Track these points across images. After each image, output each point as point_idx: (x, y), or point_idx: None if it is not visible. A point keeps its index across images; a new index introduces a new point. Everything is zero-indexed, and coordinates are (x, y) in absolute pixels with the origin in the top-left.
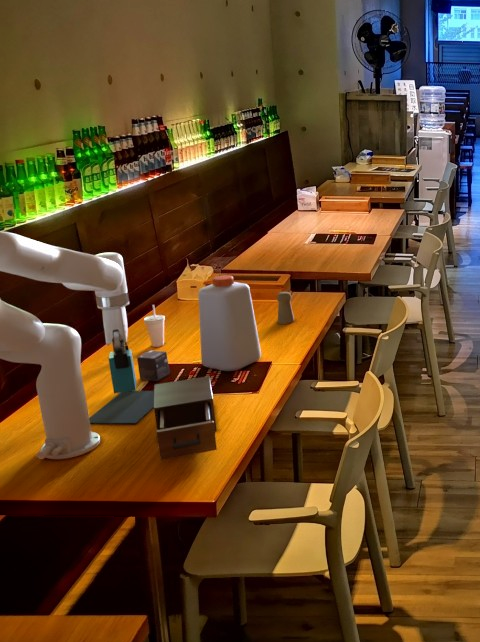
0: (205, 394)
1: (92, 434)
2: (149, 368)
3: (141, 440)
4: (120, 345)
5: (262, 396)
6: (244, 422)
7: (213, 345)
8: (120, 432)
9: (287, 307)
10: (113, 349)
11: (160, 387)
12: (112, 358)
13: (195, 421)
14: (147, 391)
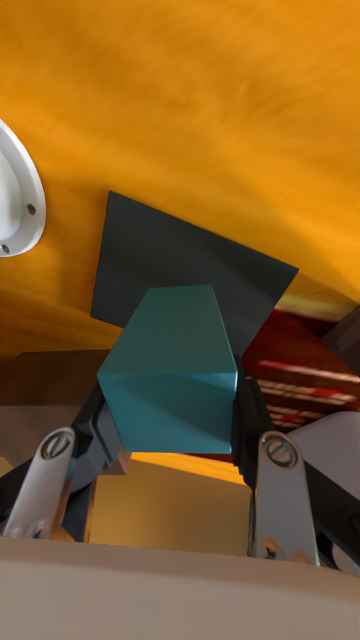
0: None
1: (19, 236)
2: (357, 346)
3: (26, 328)
4: (243, 462)
5: (160, 454)
6: None
7: (338, 484)
8: (59, 289)
9: None
10: (23, 488)
11: (74, 414)
12: (103, 390)
13: None
14: (257, 326)
